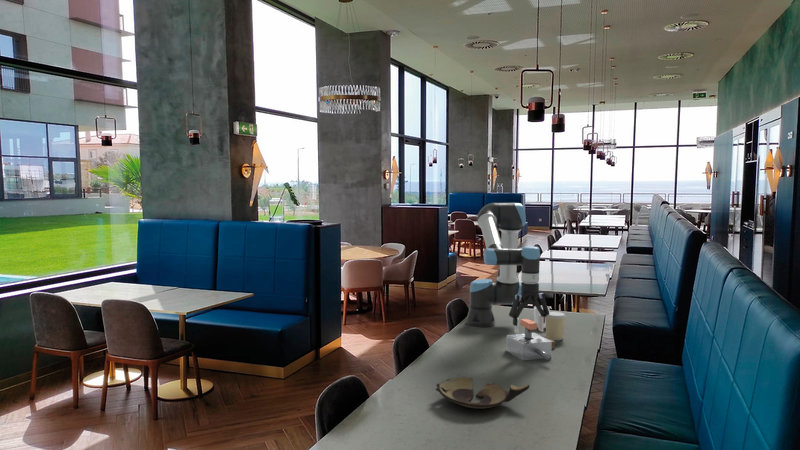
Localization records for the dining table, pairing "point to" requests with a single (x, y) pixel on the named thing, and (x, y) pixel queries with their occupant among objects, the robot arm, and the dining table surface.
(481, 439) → the dining table surface
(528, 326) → the block
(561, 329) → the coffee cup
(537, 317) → the white cup
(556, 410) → the dining table surface
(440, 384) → the brown curved dish
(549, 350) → the block
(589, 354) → the dining table surface
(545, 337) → the wooden square frame
